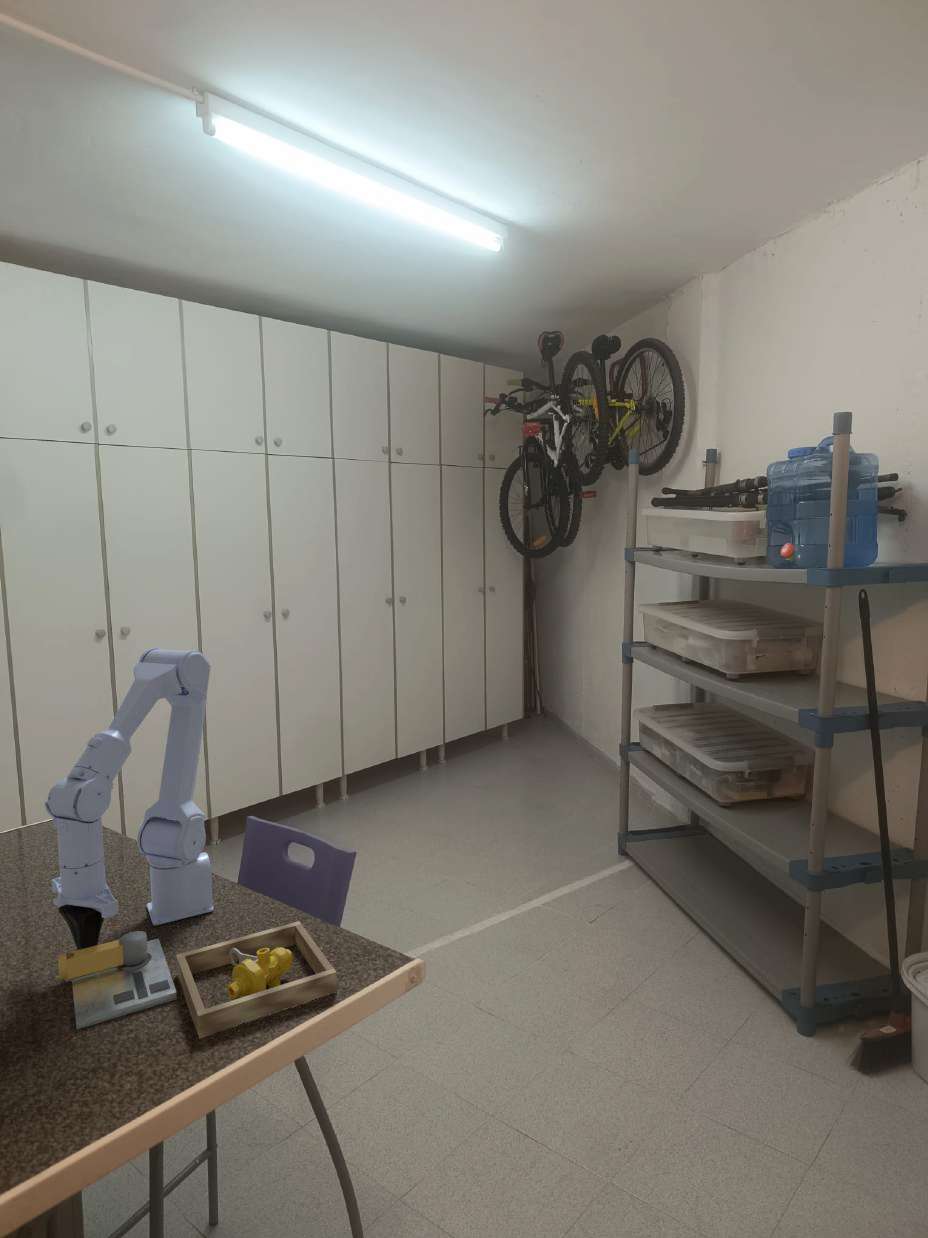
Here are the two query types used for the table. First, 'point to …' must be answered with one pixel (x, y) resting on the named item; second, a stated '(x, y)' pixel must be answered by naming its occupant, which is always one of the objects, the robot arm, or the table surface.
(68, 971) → the handle
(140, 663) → the robot arm
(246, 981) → the pressure relief valve
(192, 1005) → the parts frame
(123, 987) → the base
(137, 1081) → the table surface
